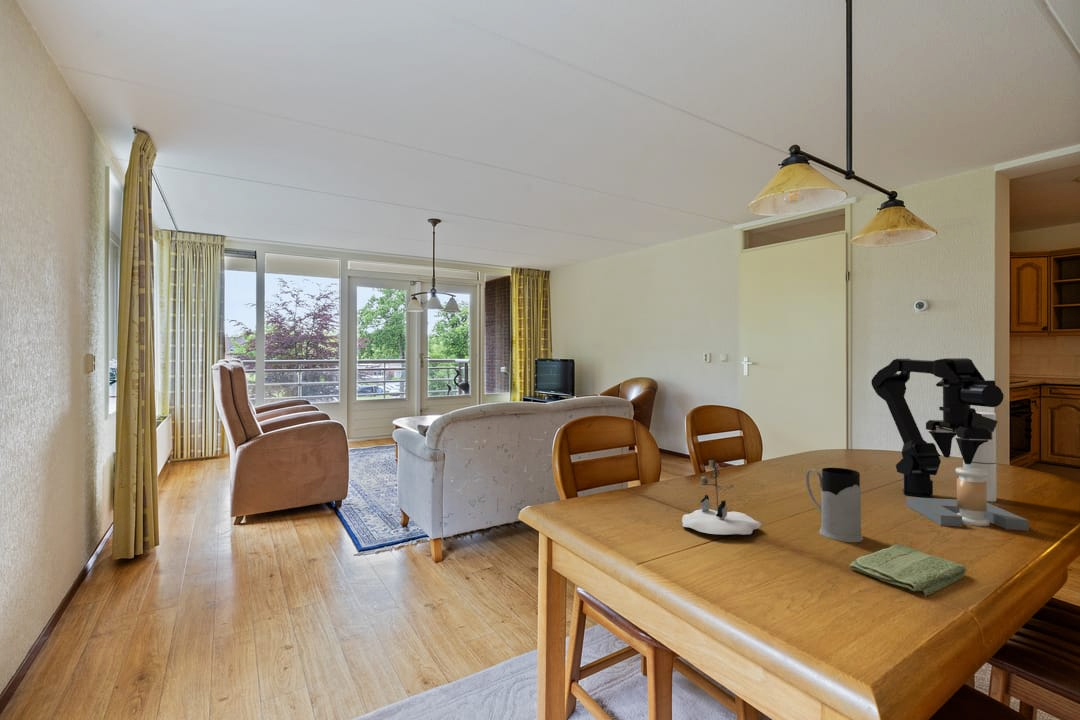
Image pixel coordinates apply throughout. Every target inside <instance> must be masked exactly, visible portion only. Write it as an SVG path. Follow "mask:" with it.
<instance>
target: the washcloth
mask: <svg viewBox="0 0 1080 720" xmlns="http://www.w3.org/2000/svg"><path fill="white" fill-rule="evenodd" d="M848 567H849V568H850V569H852V570H853V571H854V572H858V573H861V574H863V575H865V576H866V575H867V576H869V577H872V578H874V579H876V580H877V579H878V580H879V581H882V582H885V583H889V584H892V585H894V586H898V587H901V588H904V589H906V590H909V591H912V592H915V593H916V592H917V593H916V594H919V593H920V595H921V594H922V596H924V595H925V596H924V597H928V596H929V595H930V596H931V595H933V594H934V593H936V592H938V591H940V590H942V589H945V588H946V587H948V586H950V585H952V584H953V583H955V582H957V581H959V580H961V579H963V578H964V576H965V574H966V571H967V569H966V568H967V567H966V566H964V564H961V563H957V562H955V561H951V560H949V559H945V558H942V557H939V556H936V555H931V554H928V553H925V552H923V551H920V550H918V549H916V548H913V547H911V546H910V547H909V546H908V545H904V544H902V543H895V544H893V545H891V546H889V547H887V548H883V549H880V550H877V551H875V552H872V553H871V554H866V555H862V556H860V557H857V558H855V560H854V561H853V560H852V562H851V563H850V564H849V566H848ZM935 591H936V592H935ZM932 593H933V594H932ZM927 595H928V596H927Z"/></svg>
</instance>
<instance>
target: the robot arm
mask: <svg viewBox="0 0 1080 720" xmlns="http://www.w3.org/2000/svg"><path fill="white" fill-rule="evenodd" d="M898 372H899V373H898ZM911 373H921V374H931V375H933V376H934V377H937V378H939V379H941V380H940V381H938V382H937V383H936V384H935V386H936V387H939V388H940V387H942V406H939V407H938V408H939V411H941V412H942V419H928V421H926V422H925V429H926V430H927V431H928V433H929V434H930V435H931V437H932V439H933V440H934V442H935V443H936V444H935V443H934V442H928V441H926V440H924V438H923V436H922V433H921V432H920V429H919V427H918V425H917V423H916V420H915V418H914V416H913V414H912V410H910V407H909V404H908V403H907V401H906V397H905V394H906V391H907V387H906V384H907V383H908V382H909V380H910V379H911ZM871 386H872V389H873V390H874V392H875V394H876V395H877V396H878V397H880V398H881V399H882V400H883V401H885V403H886V405H887V408H888V410H889V412H890V414H891V417H892V419H893V421H894V424H895V426H896V428H897V431H898V433H899V435H900V438H901V440H902V443H903V444H902V445H903V446H902V449H901V456H902V458H901V459H900V460H899V461H898V463H896V464H895V468H896V472H897V473H898V474H903V475H902V479H903V480H902V483H903V487H902V489H901V490H902V493H903V495H905V496H911V497H912V496H914V497H920V498H932V495H933V493H934V490H933V489H934V485H933V483H934V481H933V479H932V478H931V476H937V474H938V472H939V471H938V470H939V469H940V468H939V467H940V465H941V463H942V461H941V458H940V457H941V454H942V456H943V457H944V458H946V459H947V458H950V456H951V450H952V443H953V442H952V441H953V438H955V437H956V436H957V437H956V438H955V441H956V443H957V445H958V448H959V452H960V454H961V458H962V461H963V460H964V462H965V464H971V462H972V460H973V458H974V455H975V453H976V451H977V449H978V447H979V446H980V445H981V444H983V443H984V442H988V441H989V440H992V432H994V429H995V427H996V428H997V424H998V423H999V421H998V420H997V419H996V420H993V419H990V418H987V417H983V416H982V414H978V413H976V412H977V411H976V409H975V408H973V407H971V406H977V407H986V408H987V407H988V408H995V407H998V406H1000V405H1001V404H1002V403H1003V401H1004V393H1003V391H1002V389H1001V388H1000V387H999V385H998V386H997V385H996V381H995V380H989V379H987V380H985V378H984V376H983V375H982V374H981V372H980V371H979V370H978V368H977V367H976V365H975V363H974V362H973V360H972V359H970V358H966V357H964V358H963V357H962V358H961V357H960V358H957V357H956V358H955V357H953V358H952V357H951V358H949V357H948V358H940V359H934V360H926V359H925V360H924V359H911V358H895V359H893V360H892V361H890V363H889V364H888V365H886V366H884V367H883V368H880V369H879V370H878V371H877V373H876V374H874V375H873V378H872V379H871ZM936 445H937V446H938V448H939V449H940V452H941V454H940V453H939V452H938V450H937V449H938V448H937V446H936Z"/></svg>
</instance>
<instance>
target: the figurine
mask: <svg viewBox="0 0 1080 720" xmlns="http://www.w3.org/2000/svg"><path fill="white" fill-rule="evenodd" d="M708 467H709V468H710V469H713V471H714V473H712V472H710V473H709V478H710V479H714V481H715V483H708V482H710V481H708V476H701V478H700V479H701V484H700V485H701V486H715V491H716V493H715V494H716V510H714V509H711V504H710V498H709V495H707V494H705V495H704V497H703V498H702V499H701V501H700V502H699V504H698V505H697V506H701V507H700V509H697V510H694V511H692V512H691V513H685V514H684V515H682V518H681V522H682V527H683V528H690V529H693V530H695V531H697V532H699V533H705V534H709V535H710V534H711V535H743V536H744V535H752V533H753V531H754V530H757V529H760V527H761V526H762V523H761V522H760V521H758V520H755V519H753V518H752V517H751V516H748V514H746V513H743V512H740V511H728V508H727V503H726V502H727V500H726V499H725V500H721V501H720V502H721V503H720V504H719V495H718V493H719V492H718V489H720V490H722V487H721V486H720V485H719V486H718V477H719V476H718V475H720V474H721V473H720V471H719V470H718V469H719V463H717V461H715V460H713V459H712V460H708ZM731 488H735V485H734V484H730V486H729V487H727V490H729V489H731Z"/></svg>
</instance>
